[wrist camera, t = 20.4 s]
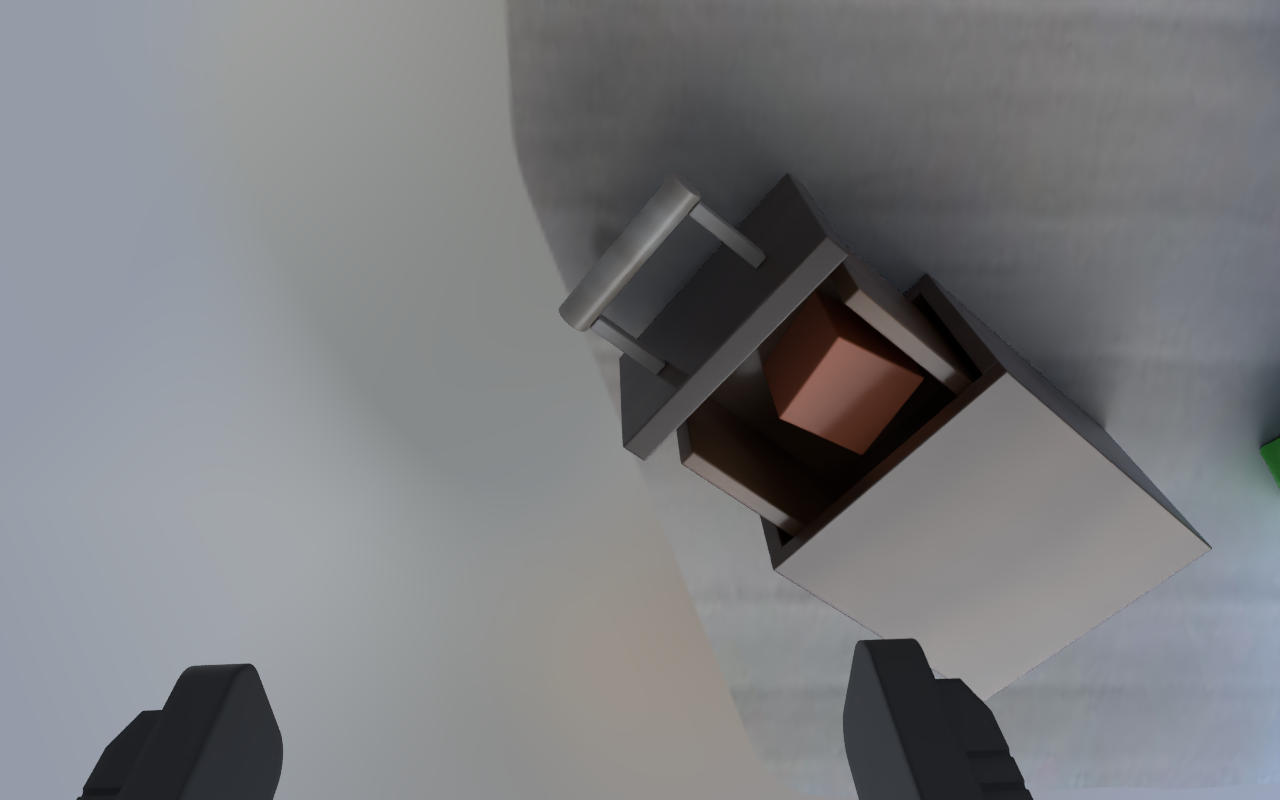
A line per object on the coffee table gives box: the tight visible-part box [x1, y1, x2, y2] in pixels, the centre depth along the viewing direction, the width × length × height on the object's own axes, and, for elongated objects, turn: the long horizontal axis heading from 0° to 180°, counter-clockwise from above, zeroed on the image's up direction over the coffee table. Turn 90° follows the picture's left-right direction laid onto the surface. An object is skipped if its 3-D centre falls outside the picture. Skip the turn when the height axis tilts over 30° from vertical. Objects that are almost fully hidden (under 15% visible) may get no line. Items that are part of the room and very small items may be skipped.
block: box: [763, 291, 924, 455], centre depth 37 cm, size 4×4×4 cm
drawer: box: [559, 172, 983, 537], centre depth 36 cm, size 18×11×7 cm, turn 51°
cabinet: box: [760, 274, 1212, 701], centre depth 40 cm, size 15×13×9 cm
